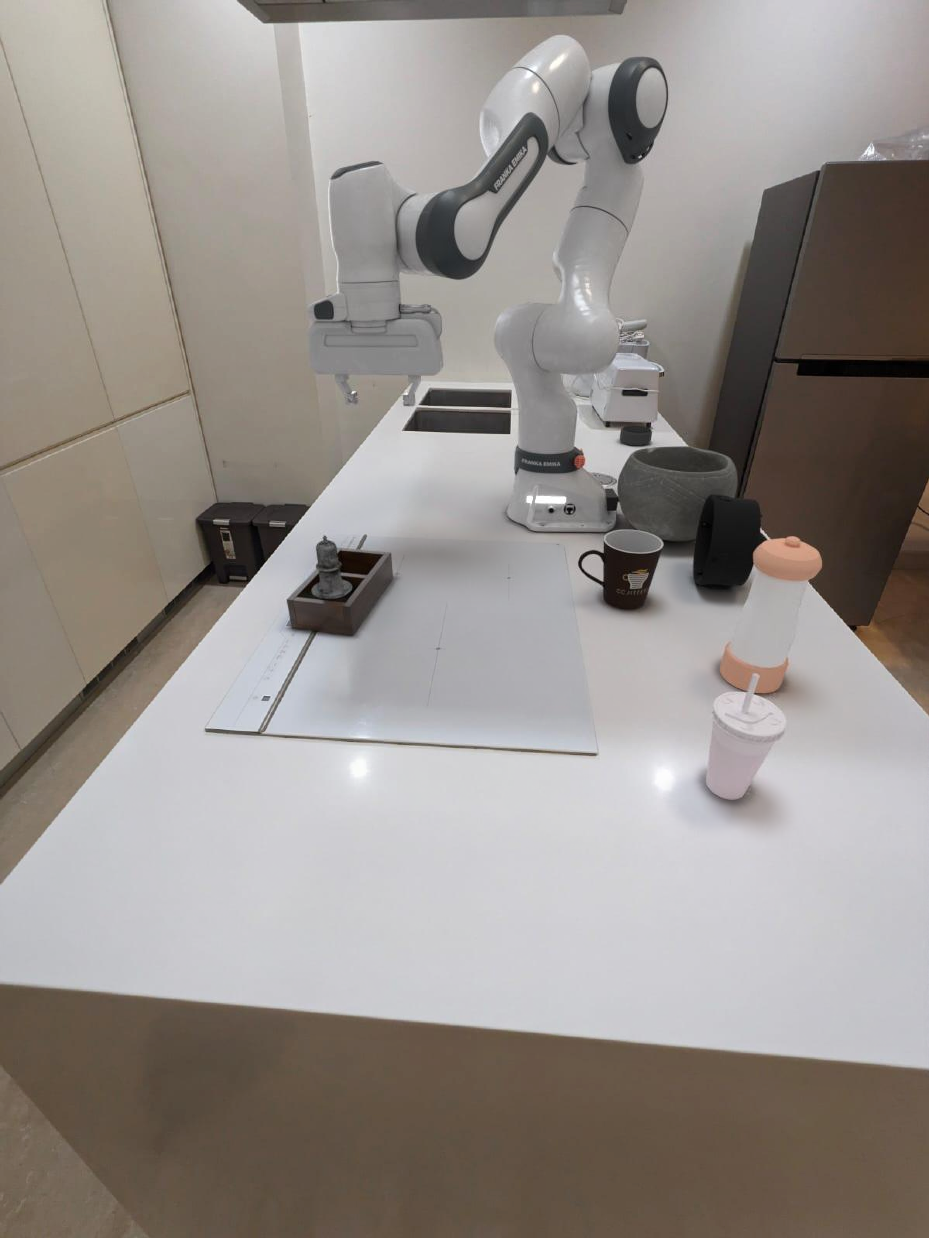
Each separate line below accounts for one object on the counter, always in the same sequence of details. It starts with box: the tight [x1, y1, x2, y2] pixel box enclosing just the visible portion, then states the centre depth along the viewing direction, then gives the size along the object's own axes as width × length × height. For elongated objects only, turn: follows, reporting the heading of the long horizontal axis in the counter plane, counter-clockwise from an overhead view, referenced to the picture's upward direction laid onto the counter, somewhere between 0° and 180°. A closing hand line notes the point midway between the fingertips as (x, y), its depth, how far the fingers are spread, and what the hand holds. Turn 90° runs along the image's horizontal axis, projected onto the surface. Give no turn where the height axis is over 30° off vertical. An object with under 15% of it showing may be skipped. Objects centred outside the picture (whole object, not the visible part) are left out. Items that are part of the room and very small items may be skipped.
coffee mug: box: [577, 529, 665, 611], centre depth 89 cm, size 12×9×10 cm
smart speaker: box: [619, 425, 653, 447], centre depth 169 cm, size 9×9×4 cm
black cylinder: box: [692, 494, 768, 589], centre depth 92 cm, size 14×14×10 cm
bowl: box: [616, 445, 738, 542], centre depth 109 cm, size 21×21×15 cm
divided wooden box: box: [286, 547, 394, 637], centre depth 89 cm, size 10×18×5 cm, turn 168°
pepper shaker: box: [719, 535, 823, 694], centre depth 69 cm, size 7×7×19 cm
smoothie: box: [705, 673, 788, 801], centre depth 55 cm, size 6×6×14 cm
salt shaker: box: [312, 534, 352, 603], centre depth 83 cm, size 6×6×12 cm
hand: (380, 405), depth 91 cm, fingers open, 8 cm apart
